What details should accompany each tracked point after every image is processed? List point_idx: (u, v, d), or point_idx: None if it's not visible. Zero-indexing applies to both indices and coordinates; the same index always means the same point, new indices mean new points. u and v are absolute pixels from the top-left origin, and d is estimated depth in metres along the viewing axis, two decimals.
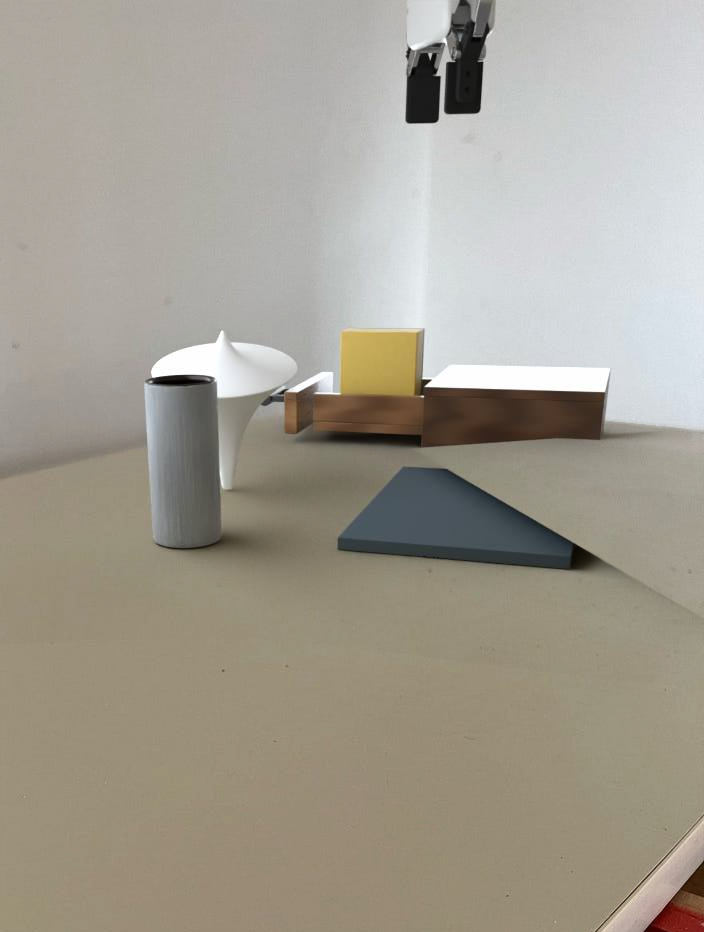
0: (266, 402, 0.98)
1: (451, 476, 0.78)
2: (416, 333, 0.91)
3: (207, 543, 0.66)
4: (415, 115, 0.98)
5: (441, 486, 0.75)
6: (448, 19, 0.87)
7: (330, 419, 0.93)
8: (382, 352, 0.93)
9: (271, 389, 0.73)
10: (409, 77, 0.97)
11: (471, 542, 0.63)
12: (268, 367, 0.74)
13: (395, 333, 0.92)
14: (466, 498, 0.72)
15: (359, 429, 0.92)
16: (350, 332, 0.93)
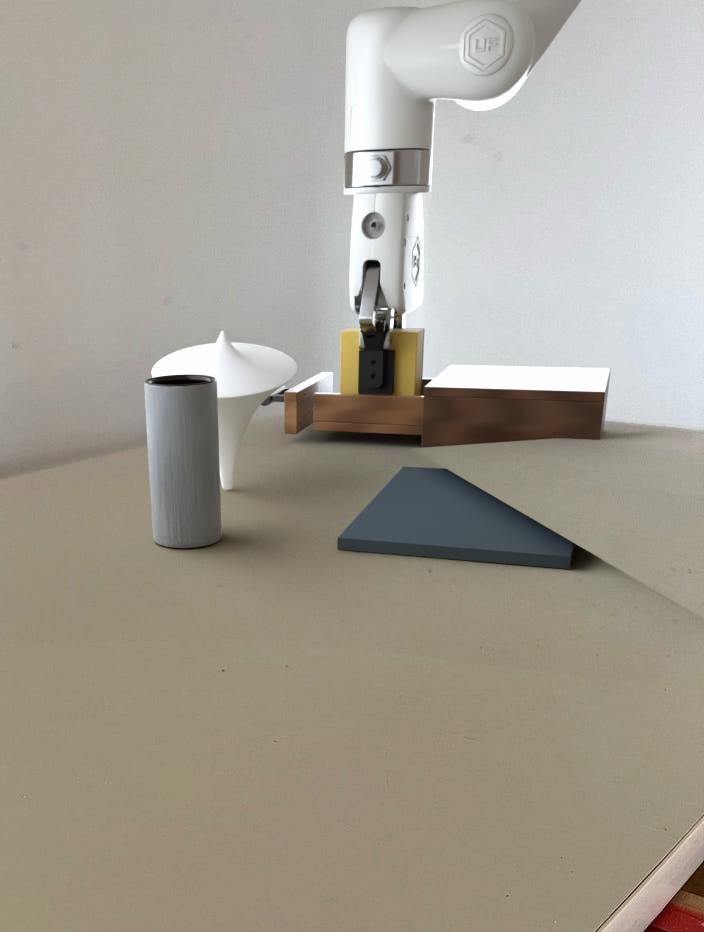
0: (266, 402, 0.98)
1: (451, 476, 0.78)
2: (416, 333, 0.91)
3: (207, 543, 0.66)
4: None
5: (441, 486, 0.75)
6: (352, 301, 0.89)
7: (330, 419, 0.93)
8: None
9: (271, 389, 0.73)
10: None
11: (471, 542, 0.63)
12: (268, 367, 0.74)
13: (395, 333, 0.92)
14: (466, 498, 0.72)
15: (359, 429, 0.92)
16: (350, 332, 0.93)
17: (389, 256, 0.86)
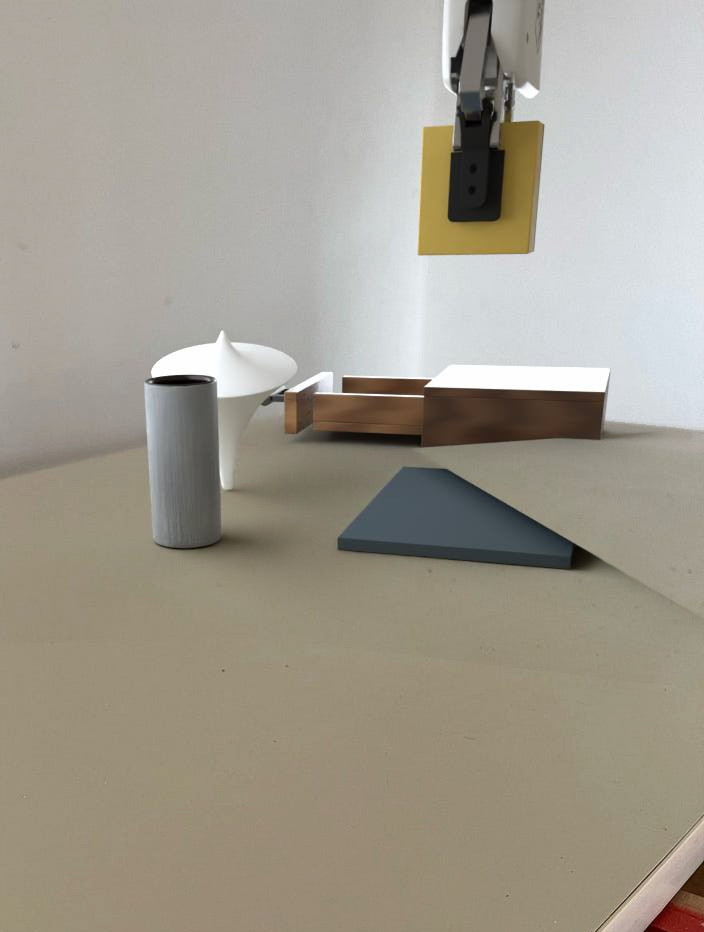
0: (266, 402, 0.98)
1: (451, 476, 0.78)
2: (537, 122, 0.62)
3: (207, 543, 0.66)
4: None
5: (441, 486, 0.75)
6: (446, 66, 0.59)
7: (330, 419, 0.93)
8: None
9: (271, 389, 0.73)
10: None
11: (471, 542, 0.63)
12: (268, 367, 0.74)
13: (505, 124, 0.62)
14: (466, 498, 0.72)
15: (359, 429, 0.92)
16: (437, 127, 0.64)
17: None
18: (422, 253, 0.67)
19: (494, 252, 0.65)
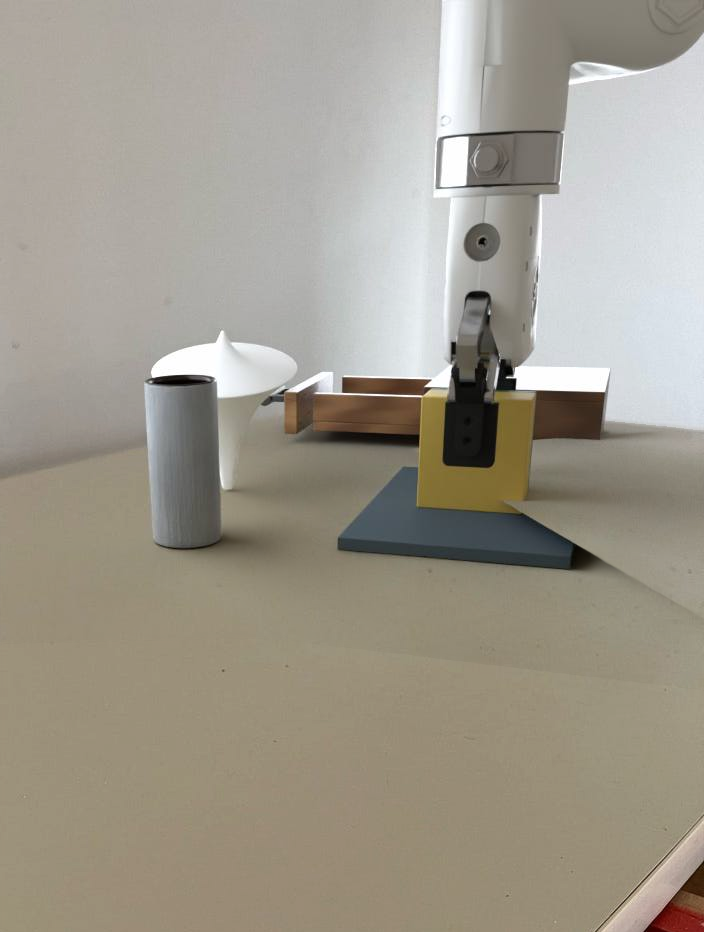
0: (266, 402, 0.98)
1: None
2: (530, 401, 0.65)
3: (207, 543, 0.66)
4: None
5: None
6: (447, 348, 0.63)
7: (330, 419, 0.93)
8: None
9: (271, 389, 0.73)
10: None
11: (471, 542, 0.63)
12: (268, 367, 0.74)
13: (499, 400, 0.66)
14: None
15: (359, 429, 0.92)
16: (435, 397, 0.67)
17: (504, 286, 0.60)
18: (421, 506, 0.70)
19: (489, 510, 0.69)
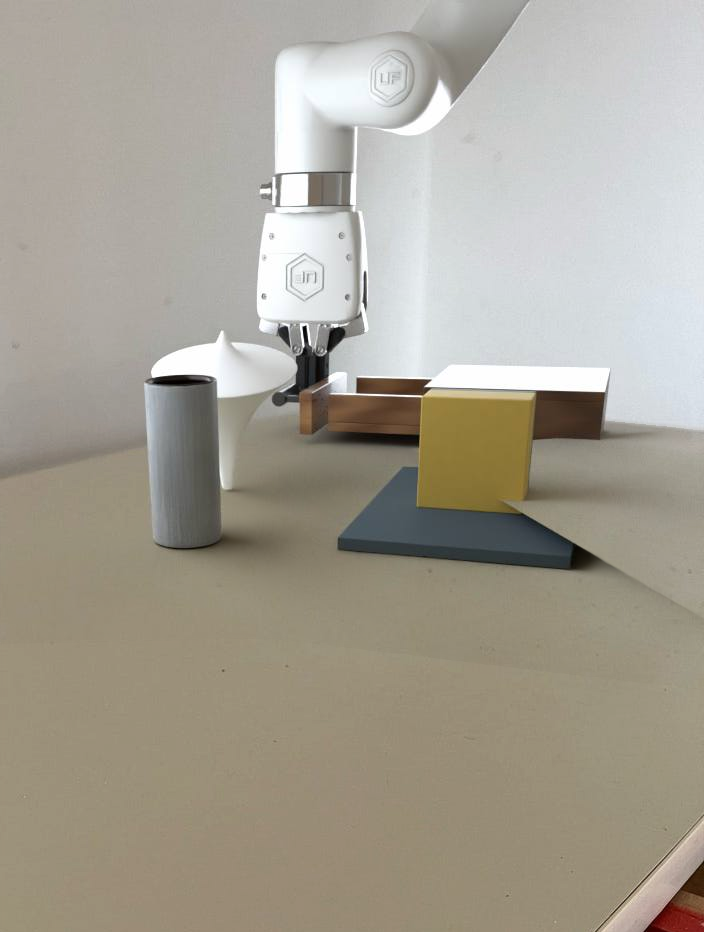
0: (280, 403, 0.97)
1: None
2: (530, 401, 0.65)
3: (207, 543, 0.66)
4: None
5: None
6: None
7: (345, 420, 0.92)
8: (480, 426, 0.67)
9: (271, 389, 0.73)
10: None
11: (471, 542, 0.63)
12: (268, 367, 0.74)
13: (499, 400, 0.66)
14: None
15: (375, 430, 0.92)
16: (435, 397, 0.67)
17: None
18: (421, 506, 0.70)
19: (489, 510, 0.69)
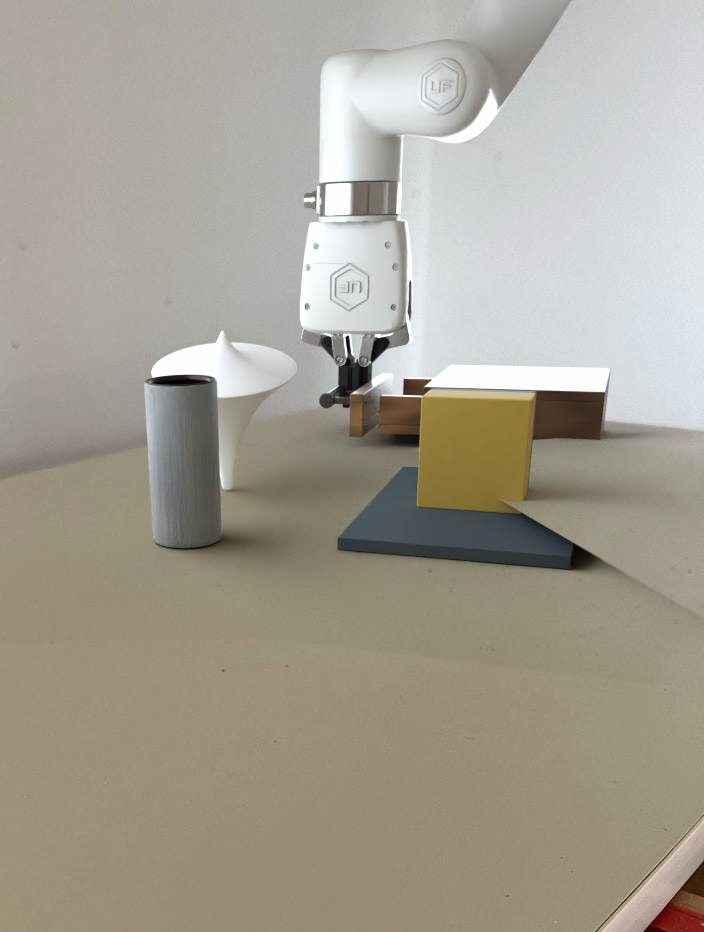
0: (328, 404, 0.95)
1: None
2: (530, 401, 0.65)
3: (207, 543, 0.66)
4: None
5: None
6: None
7: (397, 422, 0.91)
8: (480, 426, 0.67)
9: (271, 389, 0.73)
10: None
11: (471, 542, 0.63)
12: (268, 367, 0.74)
13: (499, 400, 0.66)
14: None
15: None
16: (435, 397, 0.67)
17: None
18: (421, 506, 0.70)
19: (489, 510, 0.69)
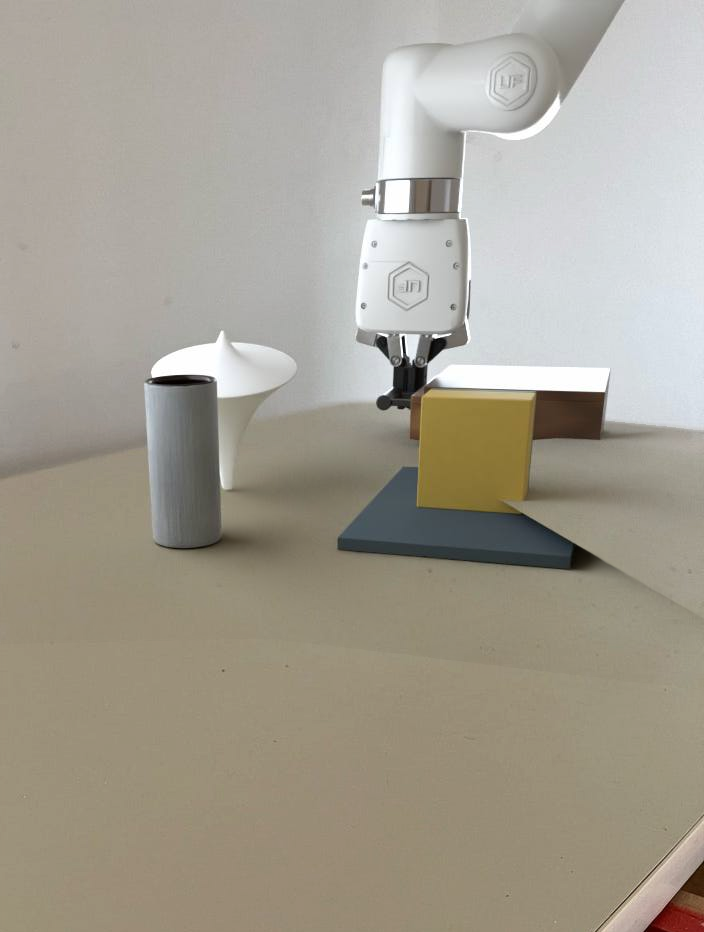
0: (386, 406, 0.94)
1: None
2: (530, 401, 0.65)
3: (207, 543, 0.66)
4: None
5: None
6: None
7: None
8: (480, 426, 0.67)
9: (271, 389, 0.73)
10: None
11: (471, 542, 0.63)
12: (268, 367, 0.74)
13: (499, 400, 0.66)
14: None
15: None
16: (435, 397, 0.67)
17: None
18: (421, 506, 0.70)
19: (489, 510, 0.69)
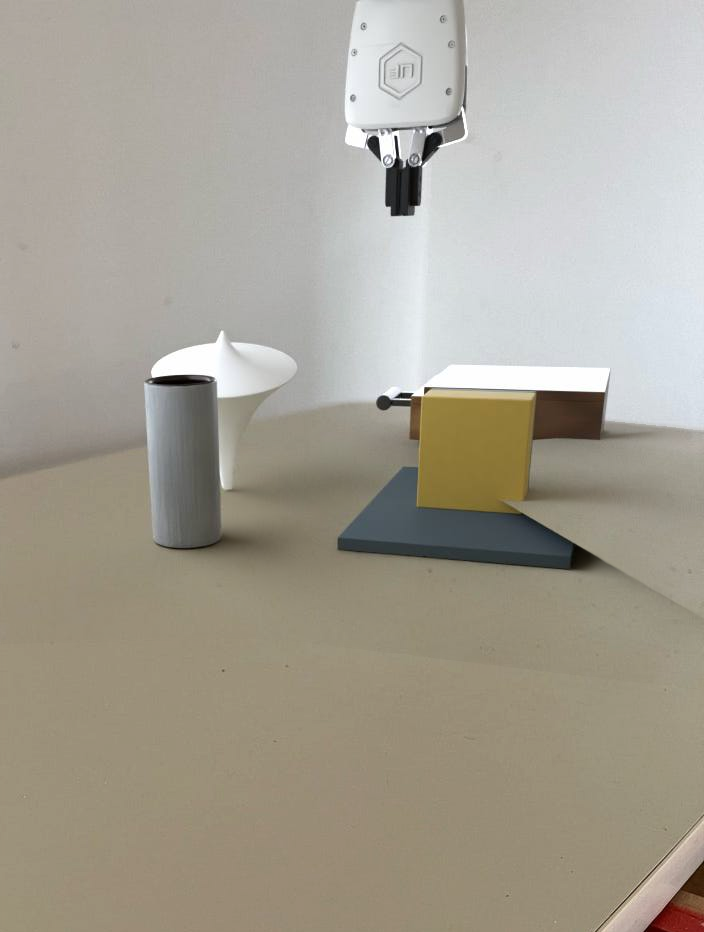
0: (386, 406, 0.94)
1: None
2: (530, 401, 0.65)
3: (207, 543, 0.66)
4: None
5: None
6: None
7: None
8: (480, 426, 0.67)
9: (271, 389, 0.73)
10: None
11: (471, 542, 0.63)
12: (268, 367, 0.74)
13: (499, 400, 0.66)
14: None
15: None
16: (435, 397, 0.67)
17: None
18: (421, 506, 0.70)
19: (489, 510, 0.69)
